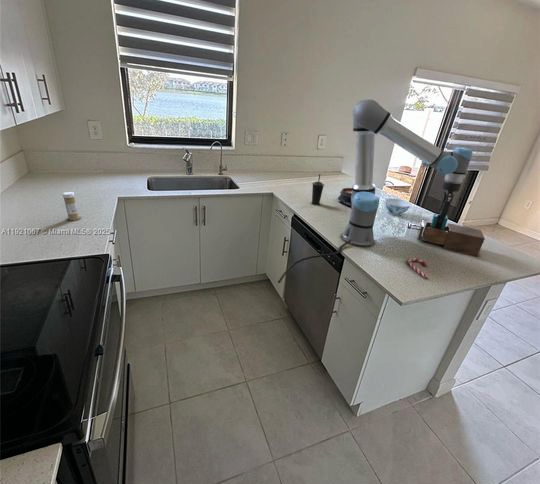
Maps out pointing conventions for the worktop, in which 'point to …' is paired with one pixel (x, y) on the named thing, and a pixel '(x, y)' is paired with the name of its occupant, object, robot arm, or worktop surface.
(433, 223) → the teal block
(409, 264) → the candy cane
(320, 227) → the worktop surface
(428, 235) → the drawer
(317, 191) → the drinking cup
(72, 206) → the sprinkles bottle
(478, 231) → the cabinet
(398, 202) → the chinaware
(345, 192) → the casserole
